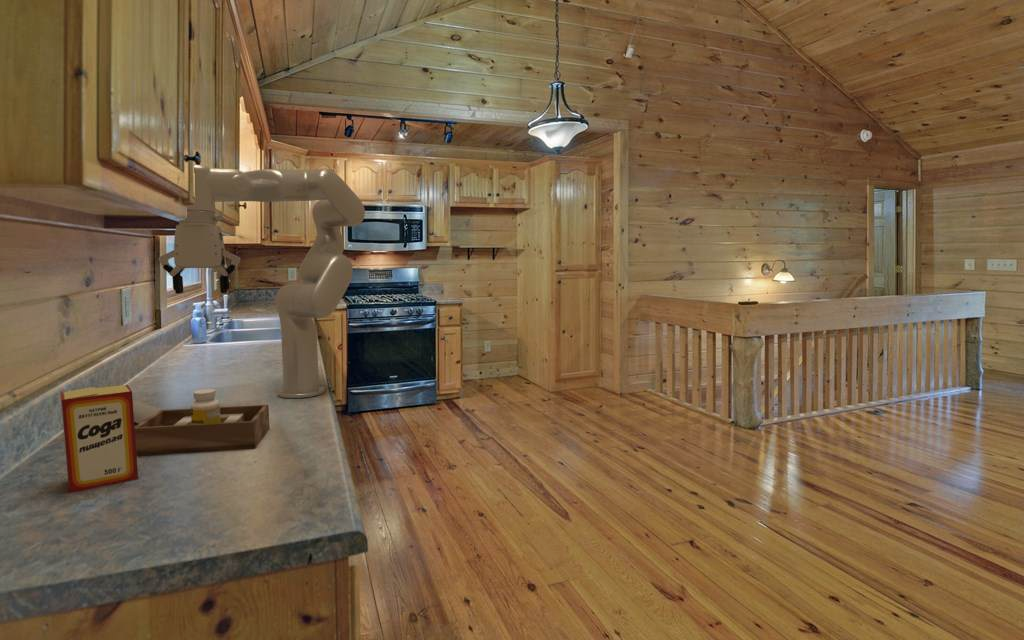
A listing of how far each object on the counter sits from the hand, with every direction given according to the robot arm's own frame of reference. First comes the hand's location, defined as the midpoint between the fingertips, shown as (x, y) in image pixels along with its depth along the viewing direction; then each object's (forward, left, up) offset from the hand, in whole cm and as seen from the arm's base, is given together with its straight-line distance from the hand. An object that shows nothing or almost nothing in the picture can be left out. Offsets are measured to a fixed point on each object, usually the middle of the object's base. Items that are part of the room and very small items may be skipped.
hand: (202, 293), depth 133 cm
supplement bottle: (+19, +5, -30) cm, 35 cm away
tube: (-1, -15, -31) cm, 34 cm away
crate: (+19, +5, -30) cm, 36 cm away
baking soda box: (+38, -6, -31) cm, 49 cm away
